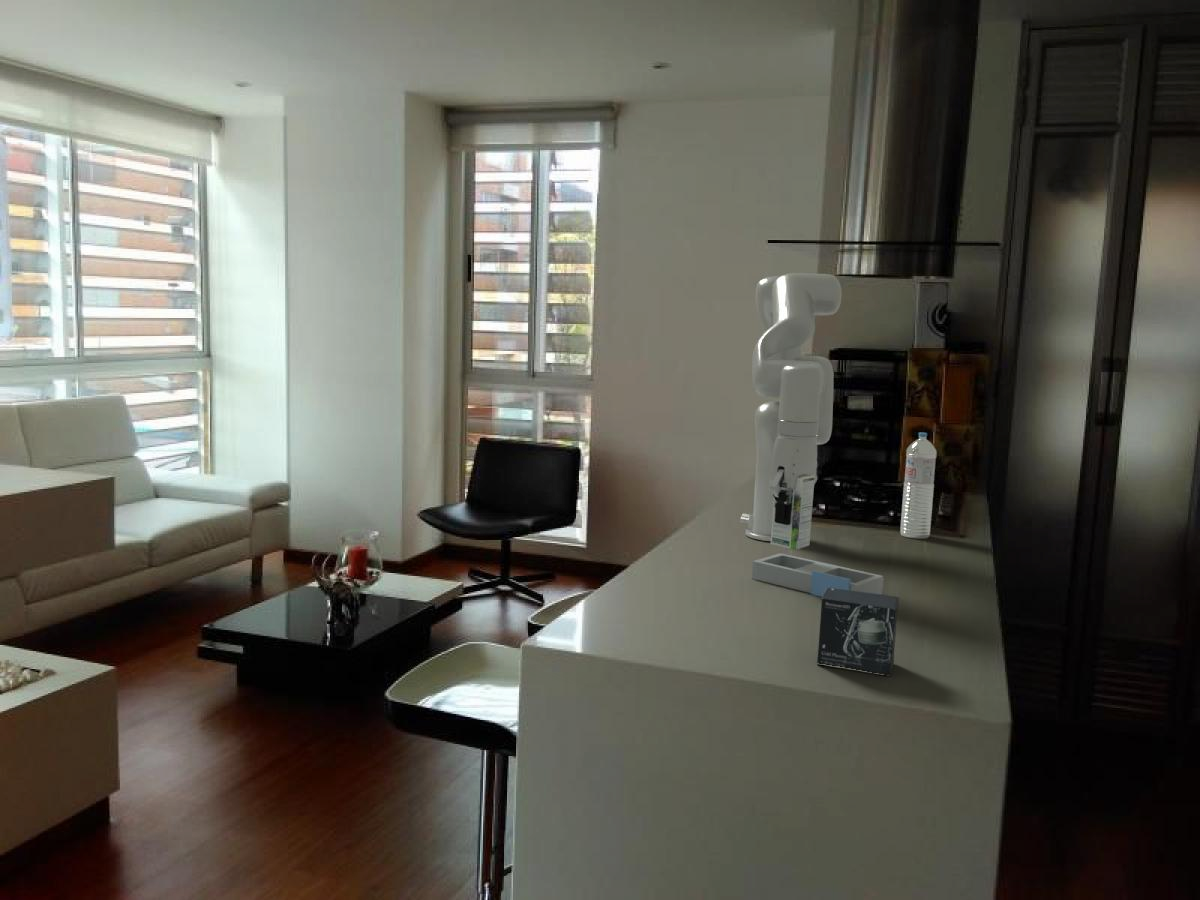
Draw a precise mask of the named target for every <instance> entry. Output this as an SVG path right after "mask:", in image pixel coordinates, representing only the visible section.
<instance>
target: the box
mask: <svg viewBox="0 0 1200 900" xmlns="http://www.w3.org/2000/svg"><path fill="white" fill-rule="evenodd" d="M899 601H900V597H899V596H895V595H894V596H893V595H885V594H882V595H880V594H872V593H865V592H858V591H850V590H843V589H835V588H826V590H825V592H824V594H823V597H821V608H820V619H819V620H820V621H819V622H820V623H819V635H818V636H819V637H818V647H817V648H818V651H817V662H816V664H817V663H819V664H826V665H832V666H840V667H845V668H851V669H856V670H862V671H867V672H872V673H879V674H884V675H890V674H892V672H893V668H892V667H894V665H893V664H894V662H895V661H894V660H895V645H896V634H897V624H898V623H897V620H898V612H899V611H898V609H899ZM891 671H892V672H891ZM890 676H891V675H890Z"/></svg>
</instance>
